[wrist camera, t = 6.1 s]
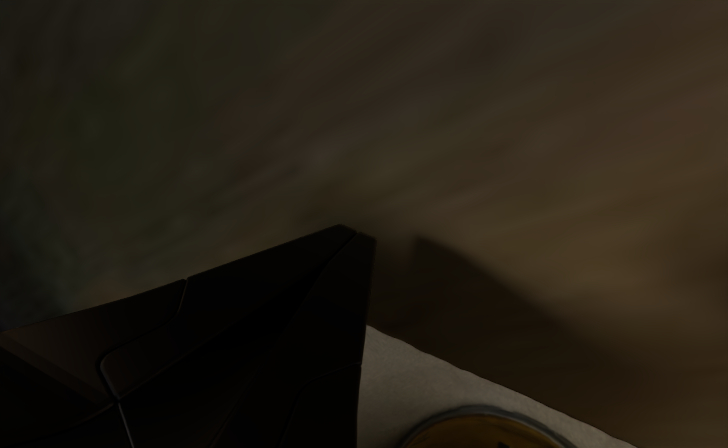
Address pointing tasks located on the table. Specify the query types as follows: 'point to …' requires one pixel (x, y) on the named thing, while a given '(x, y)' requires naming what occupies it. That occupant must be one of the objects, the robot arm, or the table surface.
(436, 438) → the condiment
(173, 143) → the table surface
